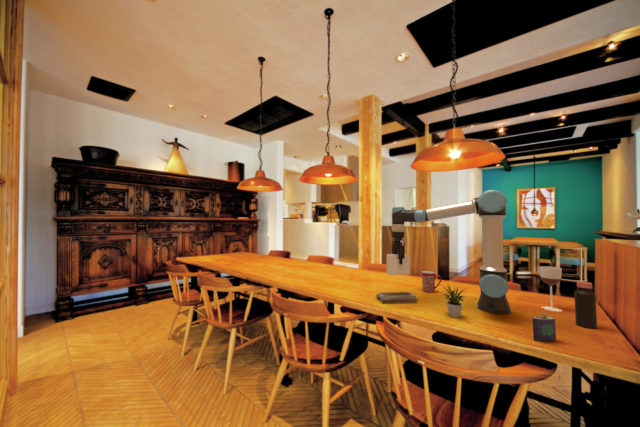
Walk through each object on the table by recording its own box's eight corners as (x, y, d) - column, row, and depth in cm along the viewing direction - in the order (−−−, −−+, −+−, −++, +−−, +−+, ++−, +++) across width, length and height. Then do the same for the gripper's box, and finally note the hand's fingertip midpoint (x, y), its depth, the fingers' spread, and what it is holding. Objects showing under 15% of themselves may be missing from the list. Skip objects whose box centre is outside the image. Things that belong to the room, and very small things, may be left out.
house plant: (432, 314, 128) (431, 283, 128) (441, 308, 137) (441, 279, 138) (463, 322, 118) (462, 288, 118) (470, 315, 127) (470, 283, 128)
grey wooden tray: (417, 302, 148) (417, 296, 148) (383, 303, 145) (383, 297, 145) (408, 297, 160) (408, 291, 160) (376, 297, 157) (376, 291, 157)
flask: (551, 338, 102) (550, 311, 102) (559, 341, 99) (558, 314, 99) (531, 339, 101) (530, 312, 101) (538, 342, 98) (537, 315, 99)
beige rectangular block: (389, 274, 150) (389, 255, 151) (386, 273, 155) (386, 254, 156) (409, 274, 152) (409, 255, 153) (405, 273, 157) (405, 254, 158)
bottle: (599, 327, 113) (597, 283, 114) (594, 330, 110) (592, 284, 111) (578, 322, 119) (576, 280, 120) (573, 324, 116) (571, 281, 117)
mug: (421, 292, 171) (421, 272, 172) (421, 289, 180) (421, 270, 180) (441, 294, 166) (441, 274, 167) (441, 291, 174) (440, 272, 175)
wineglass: (567, 310, 136) (565, 268, 137) (556, 312, 132) (555, 269, 134) (547, 305, 145) (545, 265, 146) (536, 307, 141) (535, 266, 142)
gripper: (410, 231, 146) (410, 271, 145) (397, 231, 164) (397, 266, 163) (398, 231, 145) (398, 271, 144) (386, 230, 163) (386, 266, 162)
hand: (397, 268), depth 154 cm, fingers closed on beige rectangular block, 5 cm apart
